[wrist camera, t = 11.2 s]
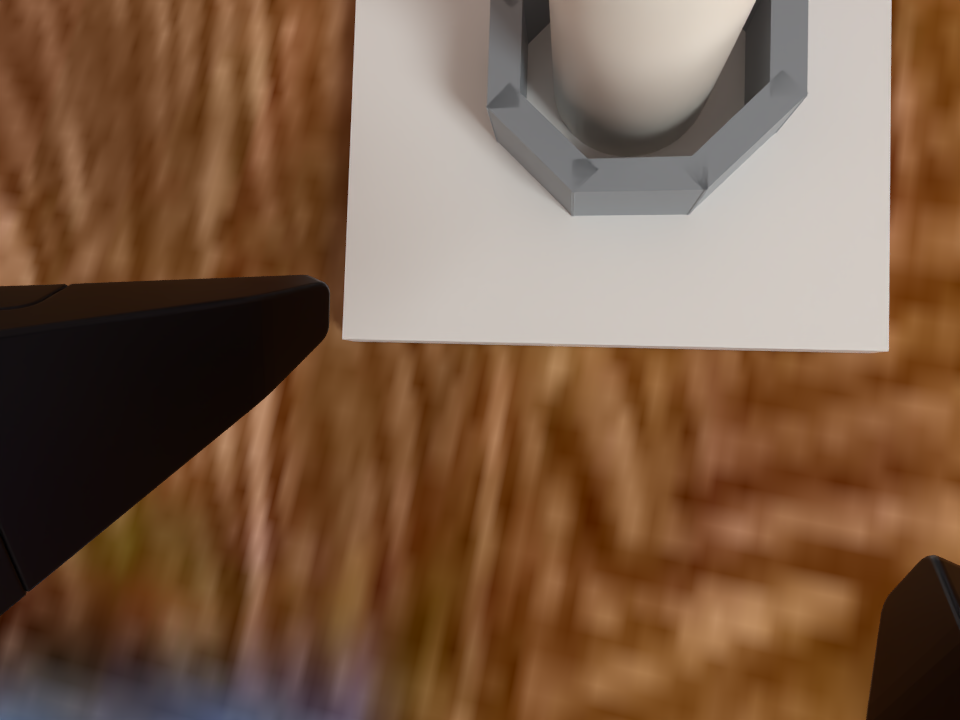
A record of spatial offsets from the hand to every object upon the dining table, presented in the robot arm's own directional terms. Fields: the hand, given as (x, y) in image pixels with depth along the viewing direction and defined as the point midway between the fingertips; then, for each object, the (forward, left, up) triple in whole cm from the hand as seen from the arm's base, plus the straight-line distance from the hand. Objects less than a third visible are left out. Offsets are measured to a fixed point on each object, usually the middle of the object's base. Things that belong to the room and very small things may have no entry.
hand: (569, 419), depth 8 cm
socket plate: (+1, +9, -13) cm, 15 cm away
